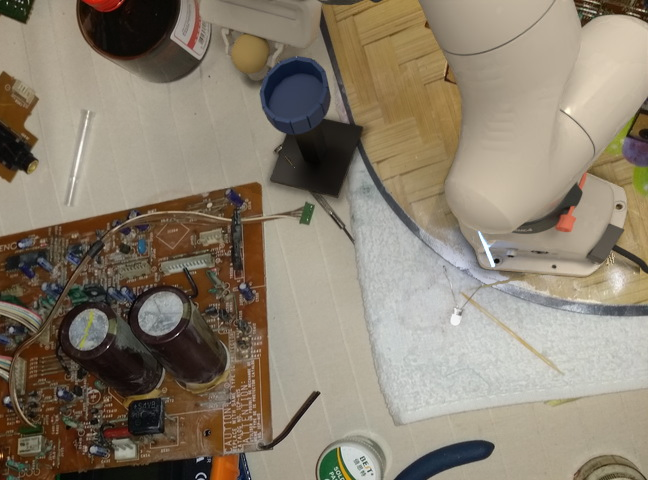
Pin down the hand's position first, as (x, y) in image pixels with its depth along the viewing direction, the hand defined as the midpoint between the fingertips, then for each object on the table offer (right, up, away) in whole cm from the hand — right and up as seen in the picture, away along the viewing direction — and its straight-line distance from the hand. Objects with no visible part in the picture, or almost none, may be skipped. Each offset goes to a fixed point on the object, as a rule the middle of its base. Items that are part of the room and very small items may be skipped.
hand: (251, 60), depth 119 cm
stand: (+11, -16, +1) cm, 20 cm away
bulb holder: (+3, -15, -20) cm, 25 cm away
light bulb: (+2, 0, +5) cm, 6 cm away
